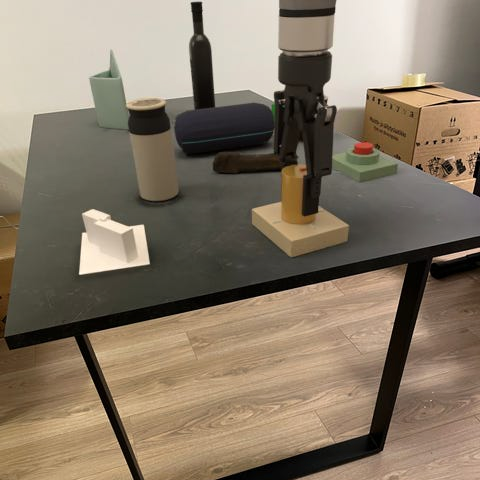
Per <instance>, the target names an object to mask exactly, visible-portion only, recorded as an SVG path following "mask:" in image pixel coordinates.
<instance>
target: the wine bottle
mask: <svg viewBox="0 0 480 480" xmlns="http://www.w3.org/2000/svg"><path fill="white" fill-rule="evenodd" d="M190 11H191V17H192V28H193V35H192V36H191V37H190V39H189V42H188V55H189V66H190V75H191V77H190V78H191V87H192V98H193V110H197V109H205V108H214V107H216V96H215V82H214V81H215V80H214V67H213V51H212V44H211V42H210V39H209V37H208V36H207V35H206V33H205V31H204V16H203V11H204V9H203V1H191V2H190Z"/></svg>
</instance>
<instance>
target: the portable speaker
mask: <svg viewBox="0 0 480 480" xmlns="http://www.w3.org/2000/svg"><path fill="white" fill-rule="evenodd" d="M174 120H175V122H174V126H173V129H174V131H173V132H174V136H175V140H176V143H177V145H178V146H179V148H180V149H181V152H182V153H183V154H186V155H196V154H205V153H211V152H219V151H223V150H232V149H237V148H238V149H239V148H243V147H253V146H259V145H262V144H265V143H268V142H269V141H270V140H271V139H272V137H273V136H274V116H273V113H272V108H271V107H269V106H268V105H266V104H263V103H259V102H248V103H247V102H246V103H240V104H239V103H238V104H230V105H223V106H215V107H214V108H205V109H197V110H195V109H190V110H185V111H183V112H181V113H179V114H178V115H176V116H175V118H174Z"/></svg>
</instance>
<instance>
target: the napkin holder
mask: <svg viewBox="0 0 480 480" xmlns="http://www.w3.org/2000/svg"><path fill="white" fill-rule="evenodd" d="M81 217H82V221H83V224H84V228H85V232H82V233H81V243H80V244H81V246H80V258H79V271H78V275H80V276H81V275H87V274H88V275H89V274H95V273H101V272H107V271H113V270H120V269H127V268H133V267H140V266H147V265H150V264H151V263H150V256H149V249H148V243H147V237H146V232H145V225H144V224H138V225H130V226H128V225H124V224H123V223H120V222H117V221H115V220H112V218H111V215H110V214H108V213H106V212H103V211H100V210H97V209H94V208H91V209H89V210H87V211H85V212H82V213H81Z"/></svg>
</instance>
